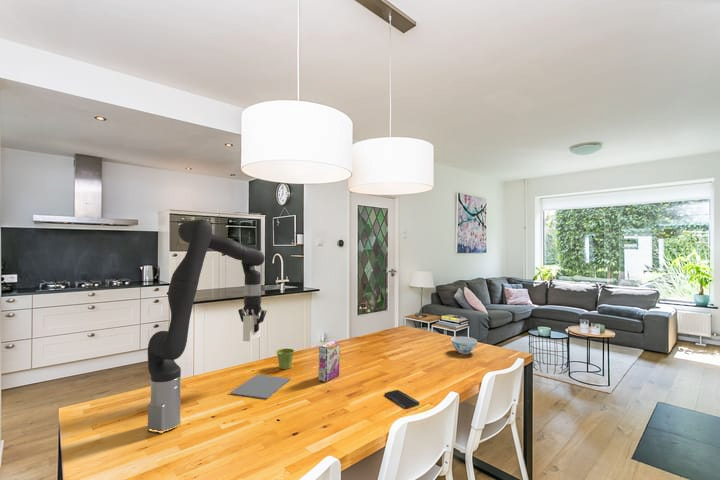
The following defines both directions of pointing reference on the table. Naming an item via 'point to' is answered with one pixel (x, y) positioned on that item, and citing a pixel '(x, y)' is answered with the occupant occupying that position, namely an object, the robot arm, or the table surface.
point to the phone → (401, 399)
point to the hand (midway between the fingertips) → (252, 331)
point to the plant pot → (285, 358)
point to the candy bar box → (329, 361)
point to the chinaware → (464, 344)
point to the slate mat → (260, 386)
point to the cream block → (250, 328)
